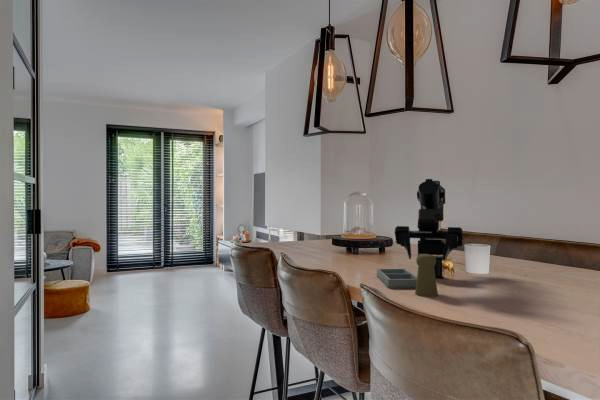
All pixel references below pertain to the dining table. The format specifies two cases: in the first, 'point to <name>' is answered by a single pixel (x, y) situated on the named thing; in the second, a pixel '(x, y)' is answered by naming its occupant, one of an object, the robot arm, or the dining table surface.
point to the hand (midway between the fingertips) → (426, 258)
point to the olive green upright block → (426, 276)
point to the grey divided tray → (397, 278)
